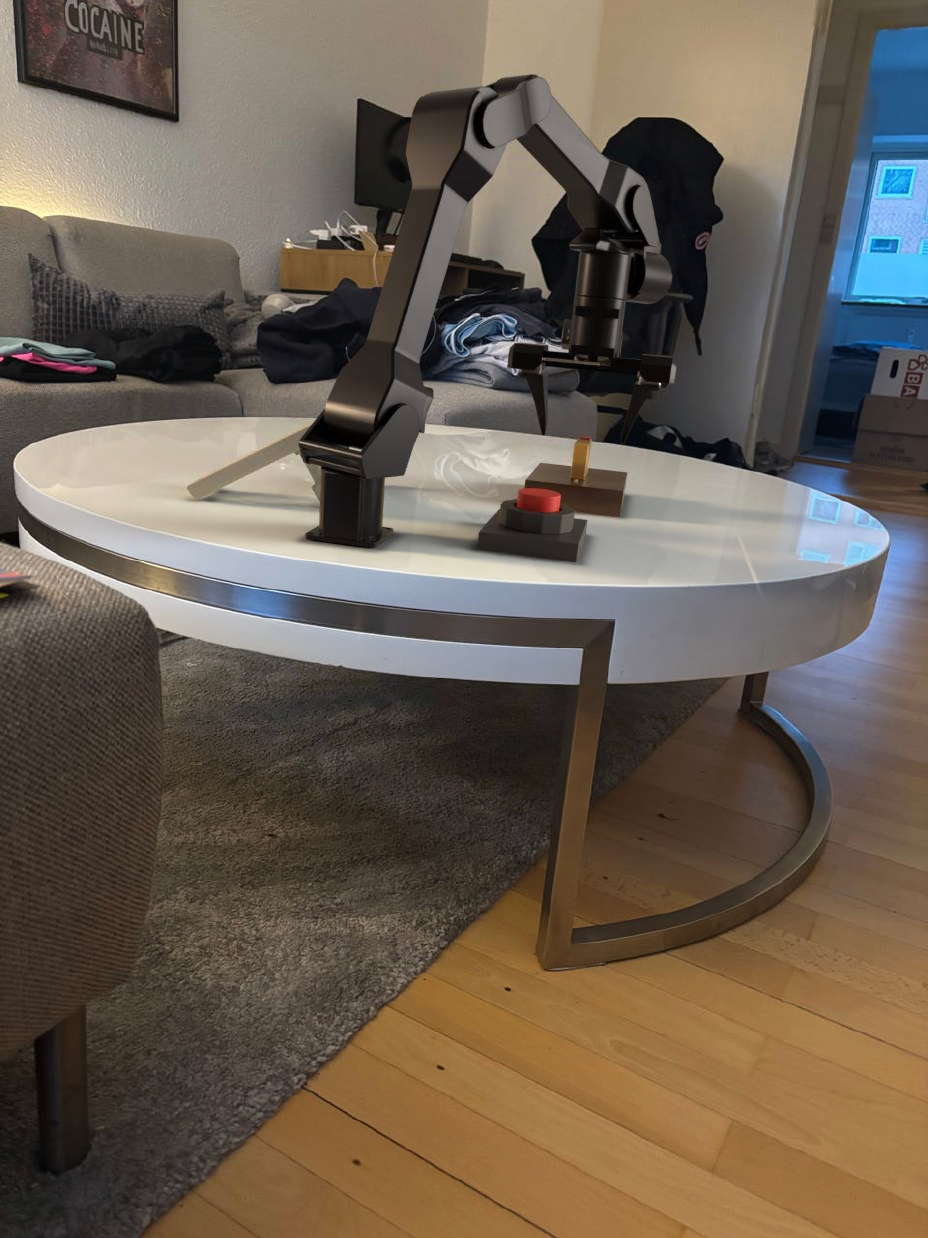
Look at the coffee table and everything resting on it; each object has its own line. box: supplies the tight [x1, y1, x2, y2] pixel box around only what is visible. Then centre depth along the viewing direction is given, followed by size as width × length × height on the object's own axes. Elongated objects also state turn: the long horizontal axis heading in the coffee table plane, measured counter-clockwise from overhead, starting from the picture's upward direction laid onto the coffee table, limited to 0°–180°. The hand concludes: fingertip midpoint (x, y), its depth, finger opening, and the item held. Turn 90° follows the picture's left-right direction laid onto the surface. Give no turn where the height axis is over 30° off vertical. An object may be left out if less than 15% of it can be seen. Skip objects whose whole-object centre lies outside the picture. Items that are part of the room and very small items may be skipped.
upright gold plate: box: [570, 435, 593, 480], centre depth 108 cm, size 6×2×4 cm, turn 168°
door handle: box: [186, 420, 321, 503], centre depth 99 cm, size 18×8×20 cm
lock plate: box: [523, 462, 628, 518], centre depth 109 cm, size 14×11×3 cm
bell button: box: [516, 488, 561, 512], centre depth 86 cm, size 4×4×2 cm
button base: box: [476, 498, 588, 563], centre depth 87 cm, size 11×9×4 cm
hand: (582, 439), depth 107 cm, fingers open, 9 cm apart
